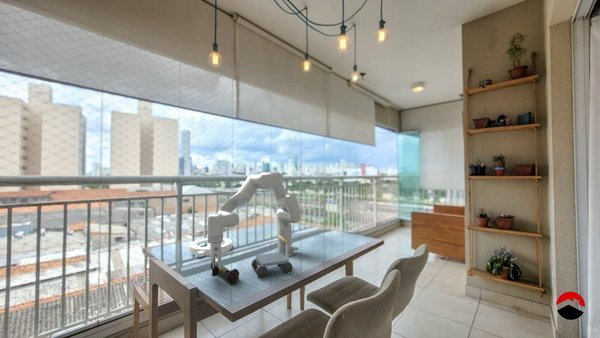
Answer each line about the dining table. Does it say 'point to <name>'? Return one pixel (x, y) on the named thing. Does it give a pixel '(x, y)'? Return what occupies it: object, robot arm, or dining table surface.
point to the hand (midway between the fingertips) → (214, 271)
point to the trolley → (272, 261)
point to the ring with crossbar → (208, 247)
